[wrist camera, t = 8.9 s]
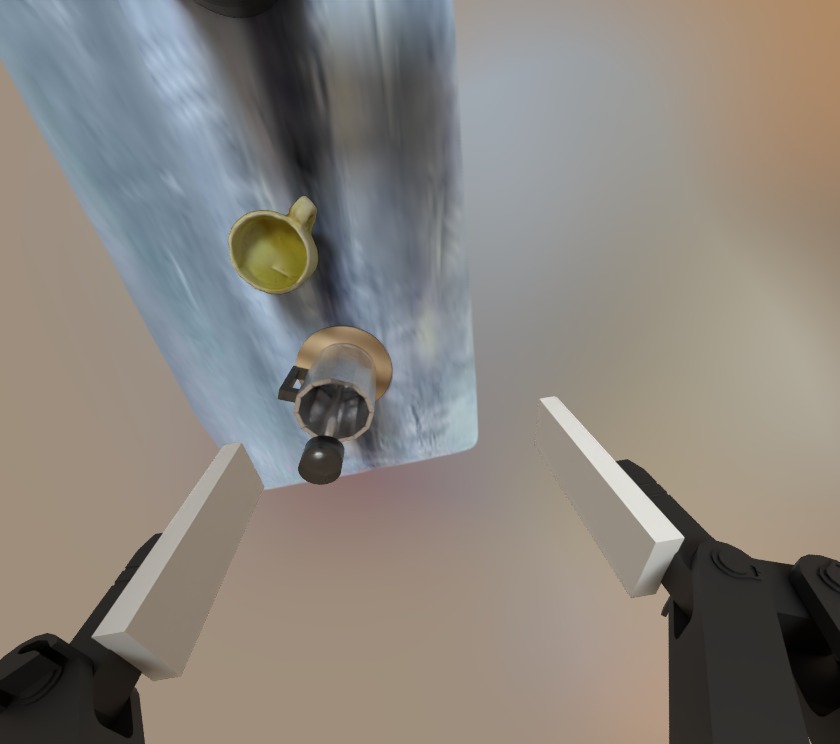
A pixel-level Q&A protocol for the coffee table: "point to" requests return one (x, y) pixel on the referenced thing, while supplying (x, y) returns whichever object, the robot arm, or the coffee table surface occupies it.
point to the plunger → (326, 443)
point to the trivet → (352, 337)
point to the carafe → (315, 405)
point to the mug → (275, 247)
